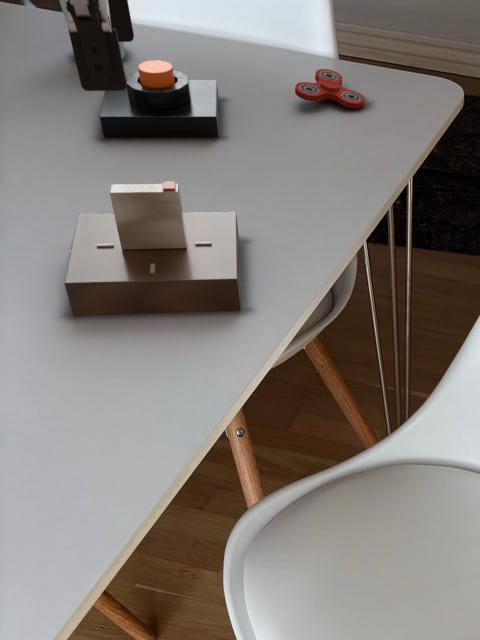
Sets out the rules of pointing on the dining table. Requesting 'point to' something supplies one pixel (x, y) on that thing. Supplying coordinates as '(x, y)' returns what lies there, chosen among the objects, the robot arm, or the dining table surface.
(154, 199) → the red-tipped white slab
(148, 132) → the button block
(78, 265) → the panel
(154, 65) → the button
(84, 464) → the dining table surface
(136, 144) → the dining table surface
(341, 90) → the fidget spinner
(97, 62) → the robot arm
